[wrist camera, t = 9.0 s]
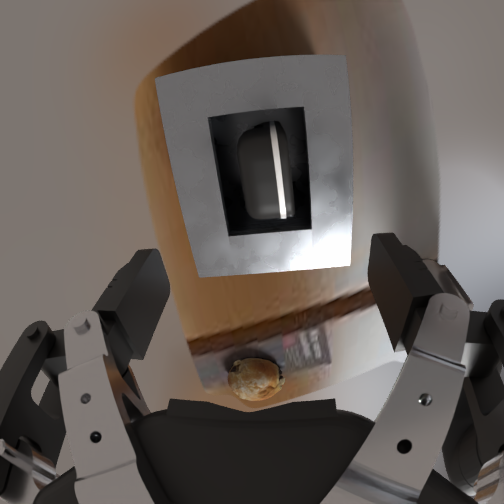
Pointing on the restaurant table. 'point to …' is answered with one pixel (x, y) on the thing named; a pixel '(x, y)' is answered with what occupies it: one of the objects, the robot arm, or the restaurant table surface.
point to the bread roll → (255, 379)
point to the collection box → (227, 168)
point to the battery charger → (266, 171)
